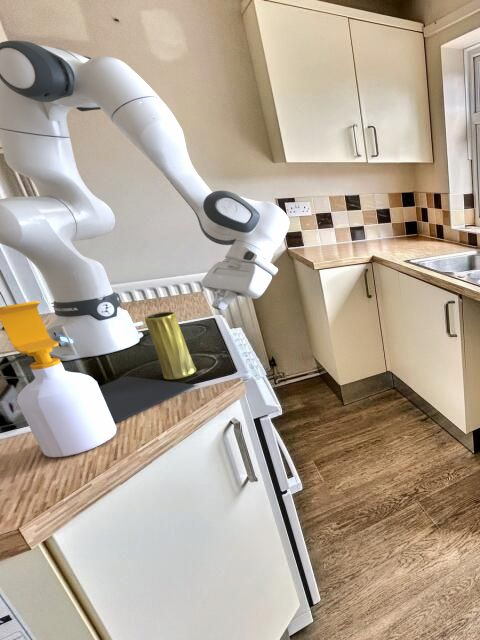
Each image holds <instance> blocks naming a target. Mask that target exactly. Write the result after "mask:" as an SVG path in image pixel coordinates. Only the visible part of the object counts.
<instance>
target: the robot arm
mask: <svg viewBox="0 0 480 640" xmlns="http://www.w3.org/2000/svg"><path fill="white" fill-rule="evenodd" d="M73 109H76V110H78V111H80V112H88V111H97V110H98V111H99V110H101V111H102V112H103V113H104V114H105V115H106V116H107V117H108V118H109V120H110V121H111V122H112V123H113V124H114V125H115V127H116V128H117V129H118V130H119V131H120V132H121V133H122V134H123V135H124V136H125V137H126V138H127V139H128V140H129V141H130V142H131V143H132V144H133V145H134V146H135V147H136V148H137V149H138V150H139V151H140V152H141V153H142V154H143V155H144V156H145V157H146V158H147V159H148V160H149V161H150V162H151V163H152V164H153V165H154V166H155V167H156V168H157V169H158V171H160V172H161V173H162V174H163V176H164V177H165V178H166V179H167V180H168V181H169V183H170V184H171V185H172V186H173V187H174V188H175V190H176V192H177V193H178V194H179V195H180V196H181V197H182V198H183V200H184V201H185V202H186V204H187V205H188V206H189V207H190V208H191V210H192V211H193V212H194V214H195V216H196V218H197V221H198V224H199V227H200V230H201V232H202V234H203V235H204V236H205V237H206V238H207V239H208V240H209V241H211V242H213V243H215V244H217V245H222V246H230V248H229V249H228V251H227V252H226V253H225V256H224V260H222V261H217V262H215V263H214V264H213V265H212V266H211V267H210V269H209V270H208V271H207V273H206V274H205V276H203V278H202V280H201V283H200V284H201V285H200V286H202V287H203V288H204V289H206V290H208V291H211V292H212V293H215V294H214V300H213V302H212V303H211V307H212V308H214V309H215V310H219V311H226V309H227V308H228V306H229V305H230V304H232V303H233V302H234V301H235V300H236V299H237V297H241V298H242V297H243V298H249V299H253V300H254V299H255V300H256V299H258V298H260V297H262V296H263V295H264V293H265V292H266V290H267V288H268V287H269V285H270V283H271V282H272V279H273V276H276V275H277V273H278V271H279V268H278V267H277V266H275V265H274V264H273V263H271V262H272V260H273V256H274V253H275V252H276V251H277V250H278V249H279V248H280V247H281V245H282V243H283V241H284V240H285V237H286V236H287V233H288V231H289V229H290V218H289V216H288V214H287V213H286V212H285V210H284V209H283V208H281V207H280V206H279V205H277V204H276V203H274V202H272V201H269V200H255V199H250V198H246V197H243V196H241V195H238V194H236V193H234V192H232V191H228V190H217V191H212V190H211V189H210V188H209V186H208V185H207V183H205V181H204V180H203V178H201V176H200V175H199V174H198V172H197V171H196V169H195V167H194V165H193V164H192V161H191V158H190V155H189V153H188V149H187V144H186V138H185V134H184V130H183V129H182V127H181V125H180V123H179V122H178V120H177V118H176V117H175V115H174V113H173V112H172V111H171V109H170V108H169V107H168V106H167V104H166V103H165V102H164V101H163V99H162V98H161V97H160V96H159V95H158V93H156V92H155V90H154V89H153V88H151V86H150V85H149V84H148V83H147V82H146V81H145V80H144V79H143V78H142V77H141V76H140V75H139V74H138V73H137V72H136V71H134V69H133V68H131V67H130V66H129V65H128V64H127V63H125V62H124V61H123V60H121V59H119V58H116V57H114V56H109V55H108V56H107V55H100V56H95V57H89V56H86V55H81V54H79V53H76V52H73V51H70V50H67V49H65V48H60V47H55V46H53V47H52V46H47V45H42V44H36V43H33V42H30V41H26V40H5V41H1V42H0V145H1V150H2V153H3V158H4V161H5V163H6V164H7V166H8V168H10V169H11V170H12V171H14V172H16V173H17V174H19V175H21V176H23V177H26V178H28V179H30V180H31V182H33V184H34V185H35V187H36V189H37V190H38V193H39V195H32V196H31V195H30V196H10V197H5V198H0V244H1V245H2V246H6V247H9V248H11V249H13V250H15V251H17V252H18V253H20V254H22V256H23V257H25V258H27V259H28V260H29V261H30V262H31V263H32V264H33V265H34V266H35V267H36V268H37V269H38V271H39V272H40V274H41V275H42V277H43V279H44V281H45V283H46V284H47V287H48V289H49V291H50V292H51V293H50V294H51V295H52V297H53V300H54V301H53V302H51V303H50V304H51V305H52V306H51V307H52V308H53V310H54V315H56V316H55V318H53V320H52V322H51V323H50V324H49V326H48V327H46V330H47V332H48V334H49V336H50V338H51V339H52V340H54V341H56V342H58V344H59V345H58V346H56V347H52V350H53V351H51V352H49V355H50V357H51V358H59V359H60V361H61V362H67V361H72V360H78V359H83V358H89V357H90V358H91V357H96V356H102V355H106V354H111V353H114V352H119V351H122V350H125V349H127V348H130V347H133V346H135V345H136V344H138V343H140V340H141V339H142V338H143V337H144V334H143V332H141V331H138V330H137V328H136V327H138V326H142V325H143V324H144V323H143V321H139V322H135V323H134V322H133V320H132V317H131V316H130V314H129V312H128V311H127V310H126V309H123V308H122V307H120V306H121V302H120V298H119V297H118V295H117V293H116V292H114V291H113V288H112V285H111V282H110V280H109V278H108V275H107V272H106V269H105V267H104V265H103V264H102V263H100V262H99V261H98V260H95V259H93V258H91V257H88V256H87V257H86V256H84V255H83V254H82V253H80V252H79V250H77V249H76V247H75V245H74V244H73V242H79V241H85V240H86V241H87V240H93V239H96V238H99V237H101V236H105V235H107V234H109V233H111V232H112V231H113V230H114V228H115V225H116V216H115V214H114V211H113V210H112V209H111V208H110V206H109V205H108V204H107V203H106V202H105V201H104V200H102V199H100V198H99V197H97V196H96V195H94V193H92V191H91V190H90V189H89V188H88V187H87V185H86V184H85V182H84V180H83V179H82V177H81V175H80V172H79V170H78V168H77V163H76V159H75V155H74V150H73V146H72V141H71V136H70V131H69V126H68V121H67V117H68V114H69V112H70V111H71V110H73ZM1 330H3V331H4V330H5V329H4V327H3V326H2V327H1Z"/></svg>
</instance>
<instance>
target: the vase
mask: <svg viewBox="0 0 480 640" xmlns="http://www.w3.org/2000/svg"><path fill="white" fill-rule="evenodd" d="M144 321H145V324H146V327H147V331H148V332H149V335H150V339H151V341H152V343H153V346H154V349H155V352H156V354H157V358H158V361H159V365H160V368H161V372H162V376H163V377H162V378H163V379H164V380H166V381H174V380H180V379H185V378H188V377H190V376H192V375H194V374H195V373H197V368H196V366H195V363H194V361H193V359H192V356H191V354H190V351H189V348H188V346H187V343H186V340H185V338H184V335H183V333H182V329H181V327H180V323H179V321H178V318H177V315H176V312H175V311H160V312H154V313H152V314H151V313H150V314H148V315H146V316H145V317H144Z"/></svg>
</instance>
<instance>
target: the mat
mask: <svg viewBox="0 0 480 640" xmlns="http://www.w3.org/2000/svg"><path fill="white" fill-rule="evenodd" d="M98 386H99V385H98ZM193 387H195V385H194V384H193V383H185V382H178V381H177V382H176V381H170V380H161V379H153V378H144V377H137V376H129V375H125V376H122V377H119V378H117V379H115V380H113V381H110V382H107V383H104V384H102V385H100V386H99V388H100V391H101V393H102V395H103V398H104V400H105V402H106V405H107V407H108V409H109V412H110V414H111V416H112V419H113V421H114V423H115V424H118V423H120V422H123V421H125V420H127V419H128V418H130V417H133V416H134V415H138V414H139V413H141V412H143V411H145V410H148V409H149V408H152V407H153V406H156V405H158V404H161V403H162V402H164V401H166V400H168V399H170V398H173V397H174V396H177V395H179V394H180V393H183V392H185V391H188V390H189V389H192V388H193Z"/></svg>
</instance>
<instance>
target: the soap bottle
mask: <svg viewBox="0 0 480 640" xmlns="http://www.w3.org/2000/svg"><path fill="white" fill-rule="evenodd" d="M40 304H41V303H40V301H39V300H32V301H27V302H22V303H21V302H20V303H15V304H9V305H5V306H0V323H1V325H2V328H3V327H4V329H3V330H4V331H5V333H6V335H7V337H8V340H9V341H10V343H11V345H12V347H13V348H14V349H15V351H17V352H19V353H20V354H22V355H25V354H26V355H27V357H33V359H34V362H31V364H29V367H30V370H31V372H32V374H33V377H34V379H33V380H32V381H31V382H29V383H28V384H27V385H25V386H24V387H23V389H22V390H20V392H18V394H17V397H16V404H17V406H18V407H19V410H20V411H21V414H22V415H23V417H24V419H25V421H26V423H27V425H28V427H29V429H30V431H31V433H32V434H33V437H34V438H35V441H36V443H37V445H38V446H39V448H40V450H41V452H42V454H44V456H46V457H49V458H62V457H63V458H64V457H70V456H73V455H78V454H81V453H85V452H87V451H90V450H93V449H95V448H97V447H99V446H101V445H103V444H104V443H106V442H108V441H109V440H111V439H112V438H113V437H114V436H115V435H116V434H117V425H116V423H115V422H114V421H113V419H112V416H111V414H110V412H109V409H108V407H107V405H106V402H105V400H104V398H103V395H102V393H101V391H100V388H99V384H98V381H97V380H95V379H94V378H93V377H92V376H90V375H88V374H85V373H81V372H74V371H68V370H65V368H64V364H63V363H62V360H60V359H59V358H53V357H50V355H49V352H51V351H53V350H52V347H56V346H58V345H59V344H58V342H56V341H54V340H52V339H51V338H50V336H49V334H48V332H47V327H46V325H45V324H44V322H43V319H42V317H41V315H40V313H39V310H38V307H39V305H40Z"/></svg>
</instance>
